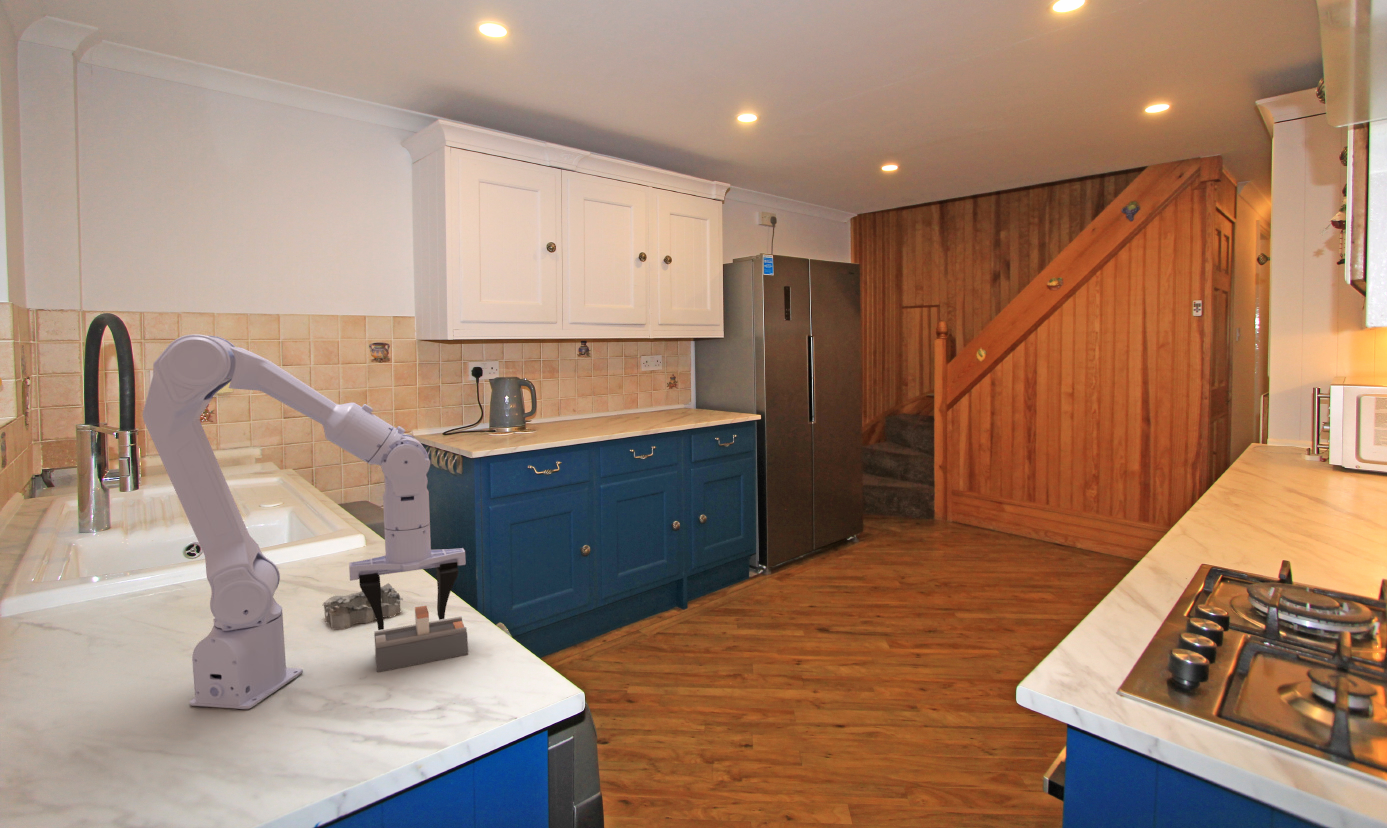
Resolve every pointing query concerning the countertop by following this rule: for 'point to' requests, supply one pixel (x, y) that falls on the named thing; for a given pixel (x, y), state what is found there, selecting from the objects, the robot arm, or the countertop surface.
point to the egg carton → (359, 608)
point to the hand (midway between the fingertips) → (411, 621)
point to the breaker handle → (422, 620)
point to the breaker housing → (420, 644)
